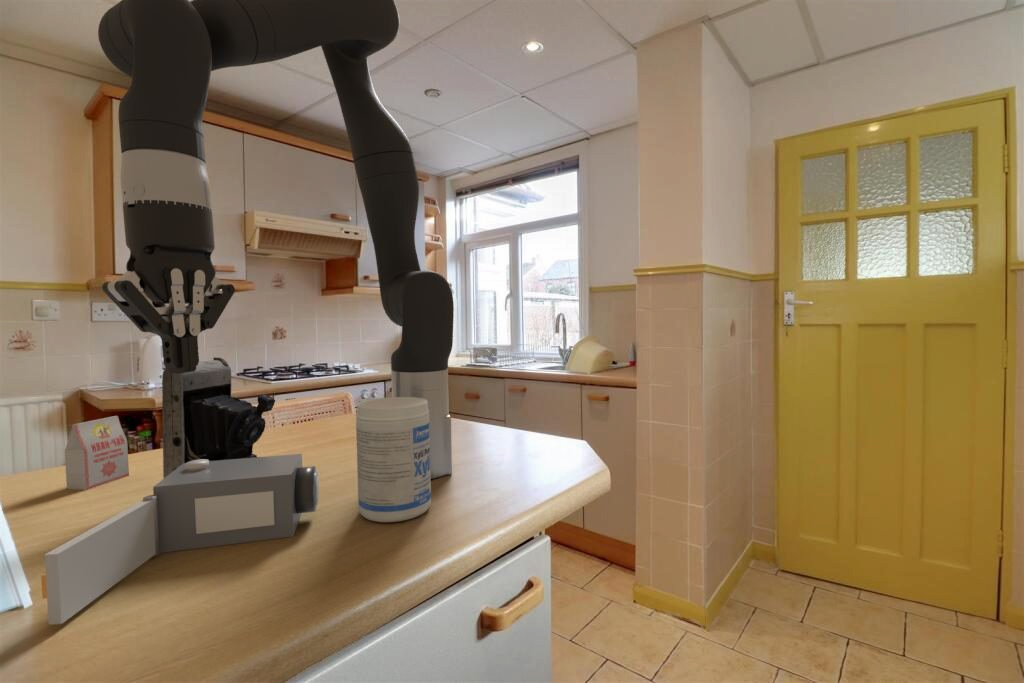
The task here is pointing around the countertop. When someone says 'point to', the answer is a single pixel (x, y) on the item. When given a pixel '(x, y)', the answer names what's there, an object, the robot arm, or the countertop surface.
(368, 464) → the supplement tub
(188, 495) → the camera housing
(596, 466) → the countertop surface
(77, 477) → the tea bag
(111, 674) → the countertop surface
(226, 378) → the vintage camera
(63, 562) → the side door
